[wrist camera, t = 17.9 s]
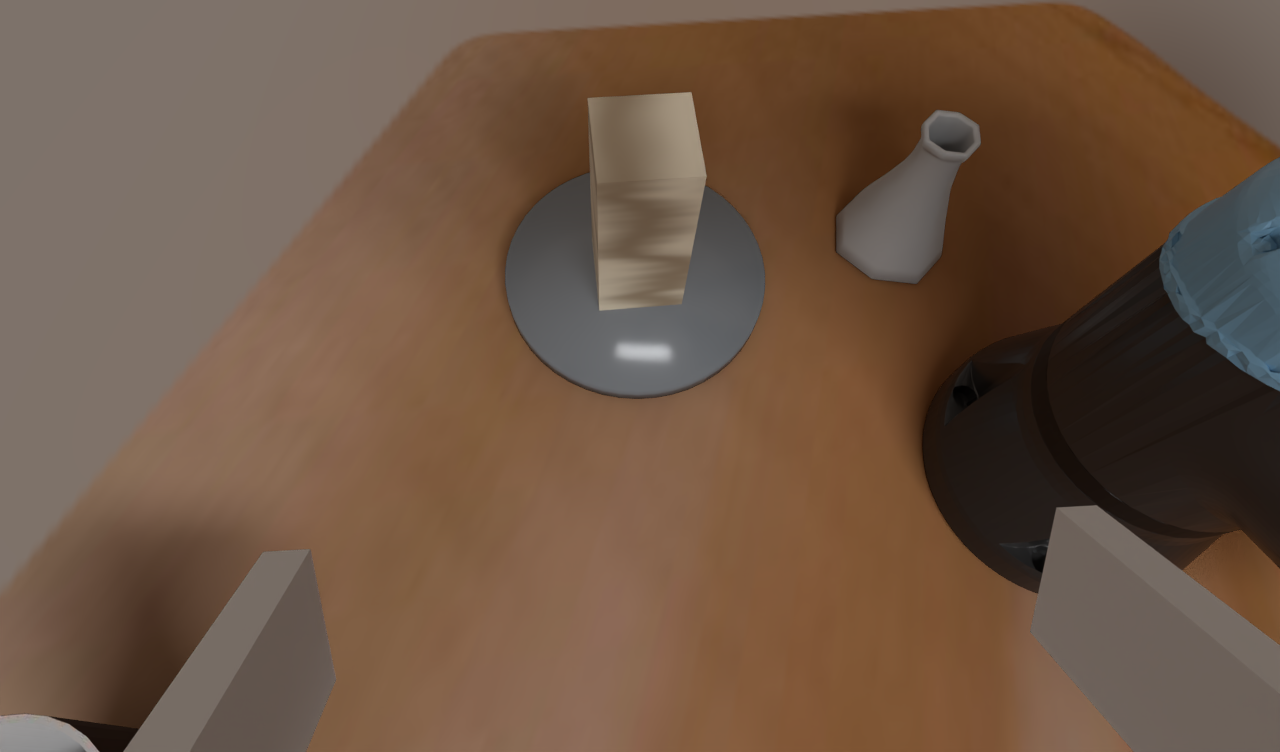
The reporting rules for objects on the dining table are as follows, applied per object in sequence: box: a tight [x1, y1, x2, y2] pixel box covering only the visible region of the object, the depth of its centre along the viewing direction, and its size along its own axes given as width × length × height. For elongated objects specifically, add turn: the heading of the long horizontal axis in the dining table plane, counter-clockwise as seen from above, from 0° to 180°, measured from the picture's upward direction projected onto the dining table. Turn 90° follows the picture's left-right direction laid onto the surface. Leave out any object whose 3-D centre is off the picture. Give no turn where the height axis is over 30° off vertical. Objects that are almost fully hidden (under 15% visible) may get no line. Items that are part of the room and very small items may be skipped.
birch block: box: [588, 92, 707, 311], centre depth 40 cm, size 5×5×12 cm
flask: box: [836, 110, 981, 284], centre depth 44 cm, size 7×7×10 cm
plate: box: [505, 173, 765, 399], centre depth 46 cm, size 16×16×1 cm
